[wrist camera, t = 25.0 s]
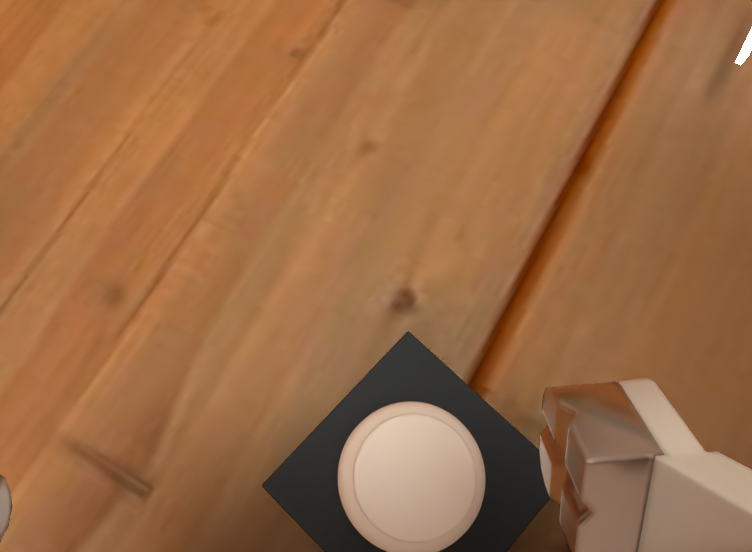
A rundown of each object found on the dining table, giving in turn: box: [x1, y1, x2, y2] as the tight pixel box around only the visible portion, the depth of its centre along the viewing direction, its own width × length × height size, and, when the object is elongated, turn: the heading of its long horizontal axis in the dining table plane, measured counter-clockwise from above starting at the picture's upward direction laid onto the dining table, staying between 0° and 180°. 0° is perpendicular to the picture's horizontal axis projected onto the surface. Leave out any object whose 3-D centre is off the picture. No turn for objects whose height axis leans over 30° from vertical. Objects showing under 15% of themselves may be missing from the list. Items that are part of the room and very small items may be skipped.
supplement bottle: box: [338, 401, 485, 552], centre depth 25 cm, size 5×5×10 cm
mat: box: [262, 332, 550, 552], centre depth 30 cm, size 10×10×1 cm
